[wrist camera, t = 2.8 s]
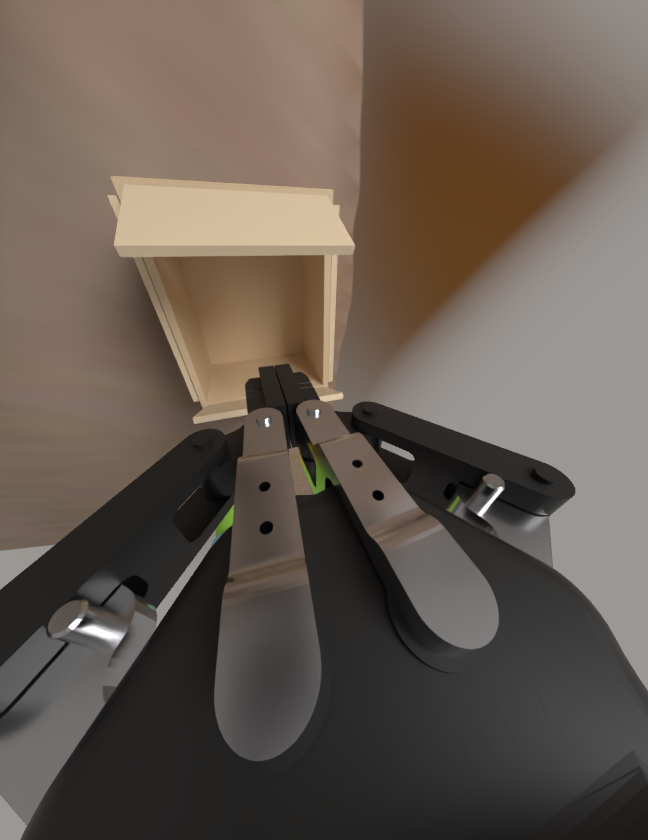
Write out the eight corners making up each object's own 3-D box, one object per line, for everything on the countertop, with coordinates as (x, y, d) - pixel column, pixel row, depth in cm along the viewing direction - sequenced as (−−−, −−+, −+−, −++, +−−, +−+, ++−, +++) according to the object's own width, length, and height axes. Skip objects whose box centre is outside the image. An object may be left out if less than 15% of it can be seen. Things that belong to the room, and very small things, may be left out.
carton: (144, 194, 20) (97, 175, 13) (307, 202, 24) (341, 190, 17) (204, 367, 31) (196, 409, 24) (311, 355, 34) (332, 388, 27)
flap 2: (207, 404, 23) (192, 417, 17) (323, 386, 26) (342, 392, 20) (209, 409, 23) (194, 423, 17) (324, 391, 26) (343, 398, 20)
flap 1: (123, 184, 13) (113, 245, 11) (327, 195, 16) (355, 245, 13) (129, 196, 13) (120, 257, 11) (325, 204, 16) (353, 254, 14)
